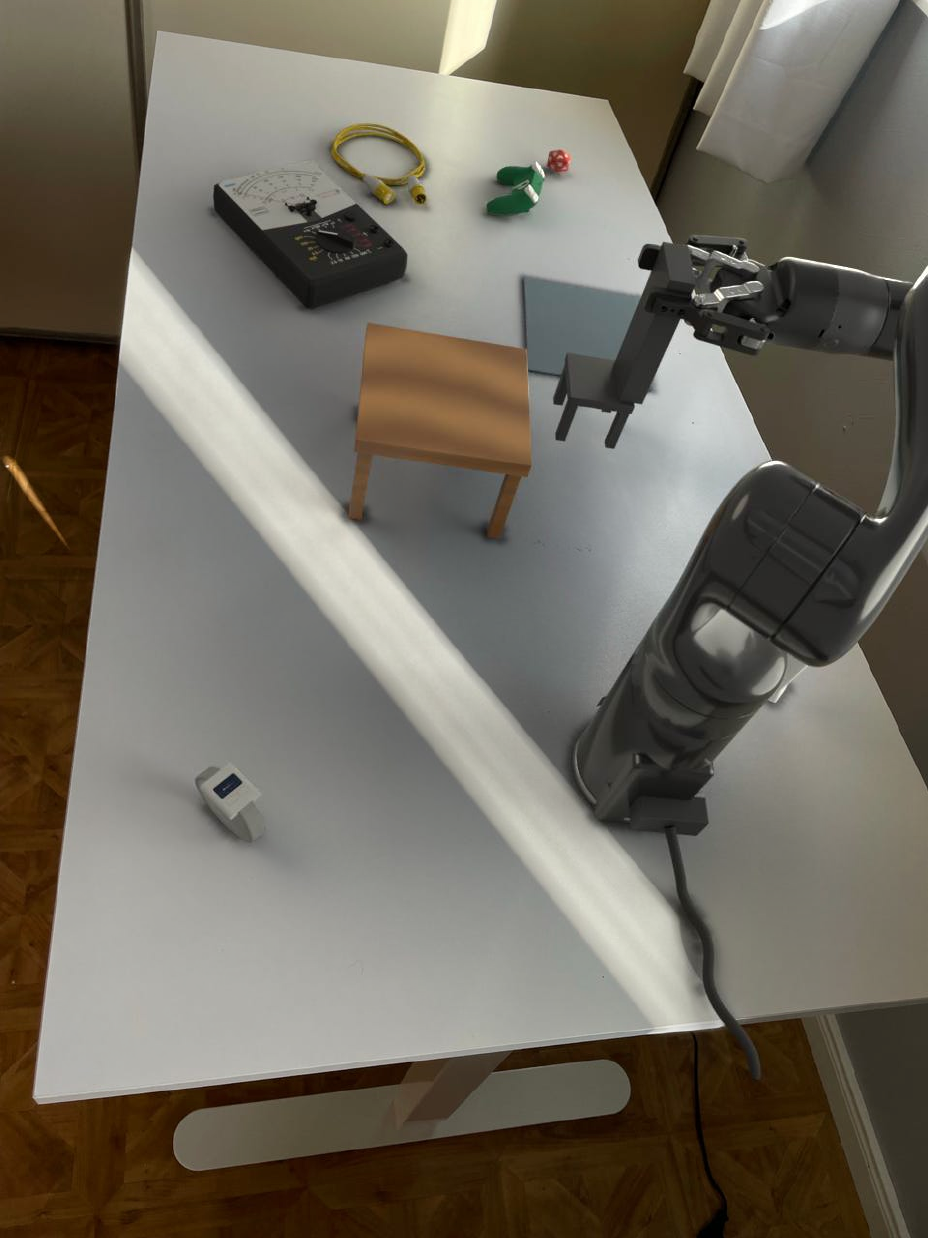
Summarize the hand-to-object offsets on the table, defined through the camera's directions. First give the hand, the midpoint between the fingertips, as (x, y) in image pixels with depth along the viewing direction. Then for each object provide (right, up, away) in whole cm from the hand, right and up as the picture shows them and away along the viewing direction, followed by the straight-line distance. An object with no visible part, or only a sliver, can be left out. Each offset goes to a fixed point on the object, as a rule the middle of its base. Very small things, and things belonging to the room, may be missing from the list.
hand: (644, 276), depth 88 cm
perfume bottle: (+11, -36, +2) cm, 38 cm away
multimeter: (-34, +12, +24) cm, 43 cm away
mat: (-2, +2, +25) cm, 25 cm away
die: (-4, +29, +43) cm, 52 cm away
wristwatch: (-33, -45, -15) cm, 58 cm away
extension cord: (-27, +26, +36) cm, 51 cm away
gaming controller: (-10, +22, +37) cm, 44 cm away
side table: (-20, -16, +8) cm, 27 cm away
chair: (-4, -10, +14) cm, 18 cm away
